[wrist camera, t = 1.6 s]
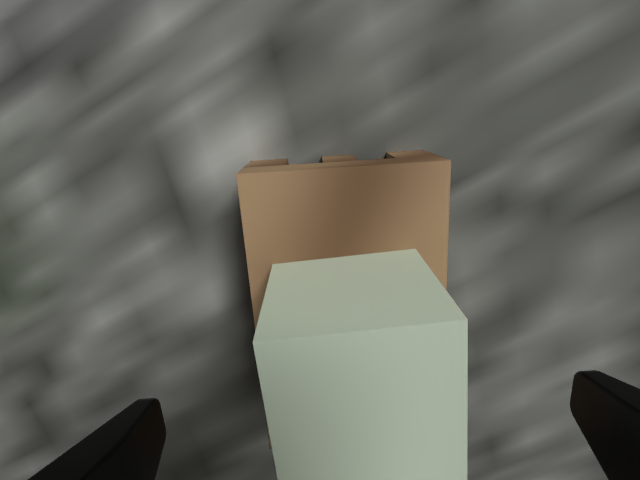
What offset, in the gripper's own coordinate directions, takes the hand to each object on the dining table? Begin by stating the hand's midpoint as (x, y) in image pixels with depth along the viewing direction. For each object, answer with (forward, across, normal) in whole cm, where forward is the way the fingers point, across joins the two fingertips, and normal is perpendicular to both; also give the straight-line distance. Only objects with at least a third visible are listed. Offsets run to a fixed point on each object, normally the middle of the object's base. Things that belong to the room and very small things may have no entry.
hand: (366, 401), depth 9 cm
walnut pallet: (+6, 0, 0) cm, 6 cm away
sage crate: (+3, 0, 0) cm, 3 cm away
